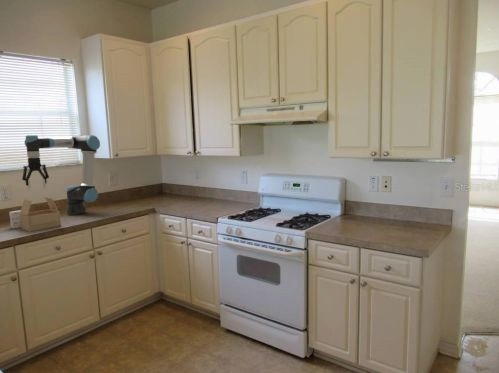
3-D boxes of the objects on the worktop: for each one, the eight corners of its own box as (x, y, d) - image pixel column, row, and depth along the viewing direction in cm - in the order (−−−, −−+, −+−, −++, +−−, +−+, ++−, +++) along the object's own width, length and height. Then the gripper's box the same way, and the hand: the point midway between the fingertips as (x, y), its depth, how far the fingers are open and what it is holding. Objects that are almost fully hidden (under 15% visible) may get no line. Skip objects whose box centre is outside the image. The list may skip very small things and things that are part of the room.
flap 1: (20, 213, 269) (24, 199, 270) (27, 215, 261) (31, 201, 262) (20, 213, 269) (24, 199, 270) (26, 215, 260) (30, 201, 261)
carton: (51, 222, 287) (50, 208, 286) (61, 226, 276) (60, 211, 274) (20, 228, 272) (18, 213, 270) (29, 232, 260) (27, 217, 259)
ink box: (23, 225, 280) (22, 209, 279) (26, 226, 277) (24, 210, 276) (10, 227, 274) (8, 211, 272) (13, 228, 271) (11, 212, 269)
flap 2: (50, 208, 284) (44, 196, 280) (58, 210, 276) (52, 198, 272) (50, 208, 284) (44, 196, 280) (57, 210, 275) (51, 198, 271)
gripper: (48, 156, 277) (51, 186, 280) (14, 158, 261) (17, 190, 264) (52, 156, 272) (55, 187, 275) (18, 158, 256) (21, 191, 259)
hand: (37, 189), depth 270 cm, fingers open, 9 cm apart
